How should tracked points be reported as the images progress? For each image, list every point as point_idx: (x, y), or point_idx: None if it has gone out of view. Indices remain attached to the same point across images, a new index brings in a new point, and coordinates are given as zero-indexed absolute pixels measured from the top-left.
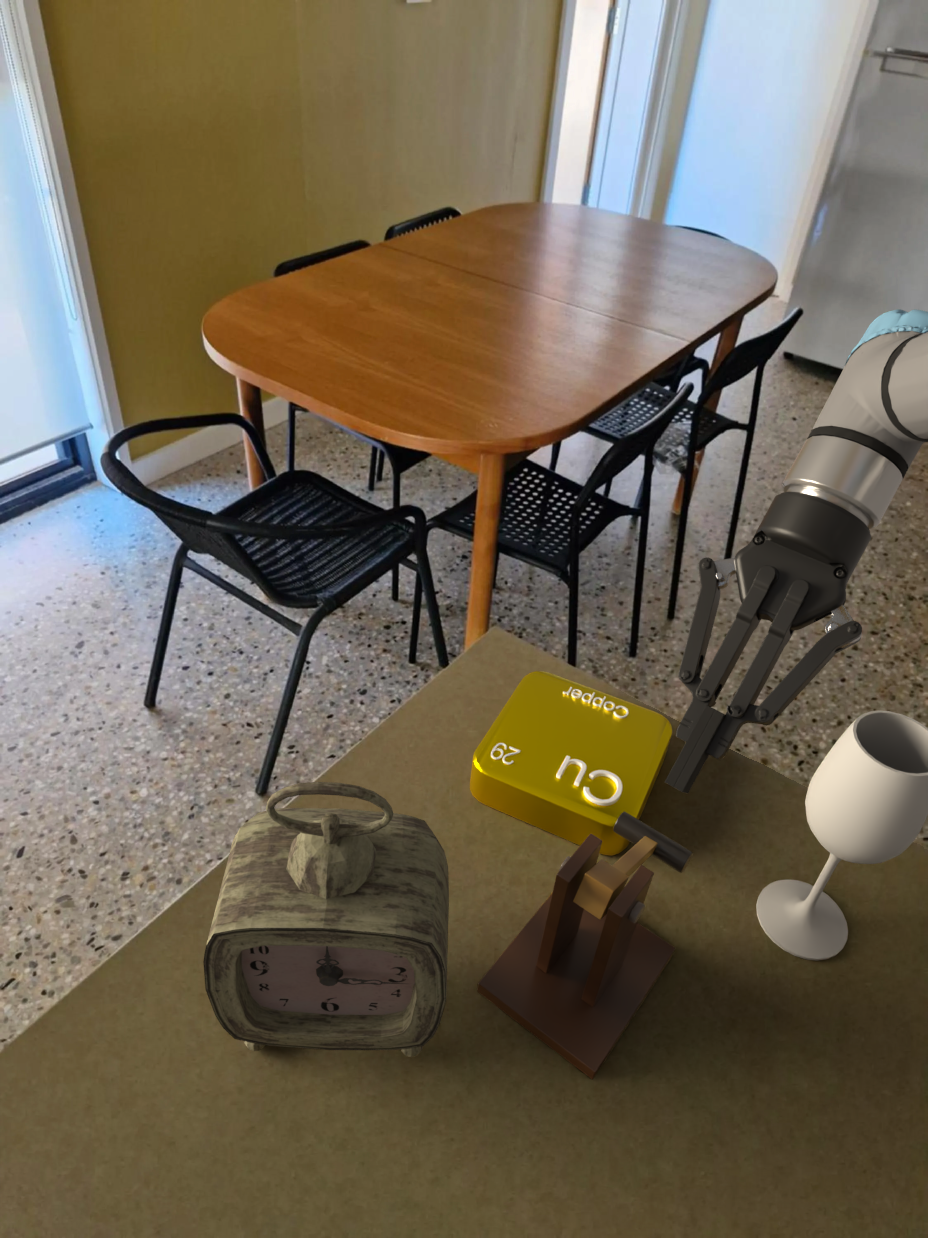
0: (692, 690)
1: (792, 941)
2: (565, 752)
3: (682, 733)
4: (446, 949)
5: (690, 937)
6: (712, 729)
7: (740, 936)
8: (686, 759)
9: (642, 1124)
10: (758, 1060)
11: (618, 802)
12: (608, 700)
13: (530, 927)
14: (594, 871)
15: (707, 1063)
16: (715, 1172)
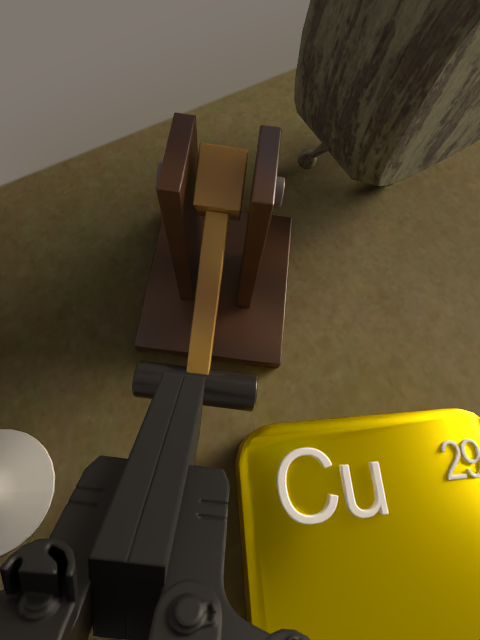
0: (237, 624)
1: (1, 443)
2: (393, 526)
3: (210, 479)
4: (334, 10)
5: (124, 384)
6: (124, 498)
7: (68, 419)
8: (175, 417)
9: (119, 200)
10: (30, 293)
11: (274, 473)
12: None
13: (280, 286)
14: (238, 166)
15: (77, 268)
16: (55, 196)
